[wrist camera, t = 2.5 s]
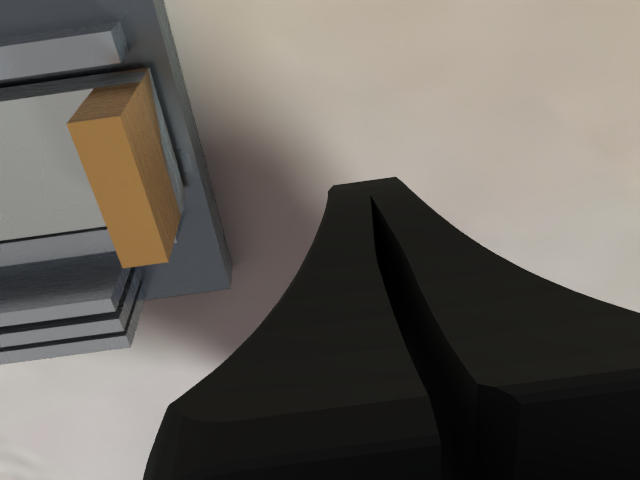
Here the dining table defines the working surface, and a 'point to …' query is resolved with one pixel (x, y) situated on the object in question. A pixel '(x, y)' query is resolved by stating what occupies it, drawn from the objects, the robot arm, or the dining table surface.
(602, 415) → the robot arm
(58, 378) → the dining table surface
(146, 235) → the grey orange block
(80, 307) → the heatsink plate
